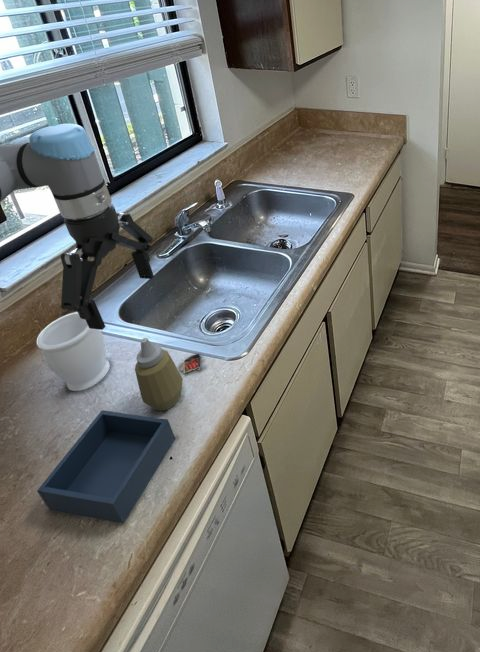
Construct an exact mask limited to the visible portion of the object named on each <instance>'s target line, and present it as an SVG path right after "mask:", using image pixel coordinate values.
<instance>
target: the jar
mask: <svg viewBox="0 0 480 652" xmlns="http://www.w3.org/2000/svg"><path fill="white" fill-rule="evenodd" d="M36 346H37V347H38V348H39V349H40V350H41V351H42V352H43V356H44V359H45V362H46V364H47V366H48V367H49V369H50V370H51V372H53V373H54V374H55V375H56V376H57V378H59V379H60V380H61V381H63V382H64V383H65V384H66V388H67V389H68V390H70V391H73V392H81V391H85V390H87V389H90V388H92V387H93V386H95V385H97V384H98V383H100V382H101V381H103V379H104V378H105V377H106V375H107V374H108V372H109V370H110V368H111V367H110V366H111V365H110V362H109V360H108V359H107V358H108V351H107V348H106V340H105V337H104V334H103V332H102V330H100V329H91V328H89V326H88V324H87V322H86V320H85V319H81V318H80V316H79V314H78V312H77V311H73V312H71V313H67V314H65V315H62V316H60V317H59V318H57V319H55V320H53V321H51V322H50V323H49V324H48V325H47V326H45V327H44V328H43V329H42V330H41V331H40V332H39V334H38V336H37V338H36Z"/></svg>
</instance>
